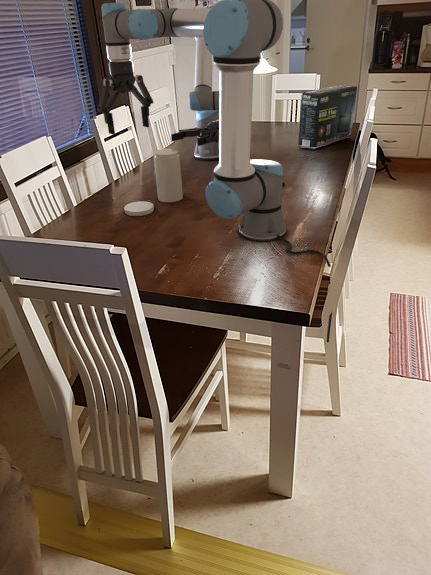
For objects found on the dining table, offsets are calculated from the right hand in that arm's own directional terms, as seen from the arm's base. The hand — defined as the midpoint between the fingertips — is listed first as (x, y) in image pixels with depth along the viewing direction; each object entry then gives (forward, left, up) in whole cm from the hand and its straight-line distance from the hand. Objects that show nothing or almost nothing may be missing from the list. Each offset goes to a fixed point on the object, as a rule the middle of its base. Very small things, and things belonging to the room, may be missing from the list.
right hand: (129, 130), depth 155 cm
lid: (0, 0, -28) cm, 28 cm away
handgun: (-29, -52, -29) cm, 66 cm away
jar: (-3, -16, -29) cm, 33 cm away
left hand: (-5, -26, -9) cm, 28 cm away
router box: (-31, -120, -29) cm, 127 cm away
